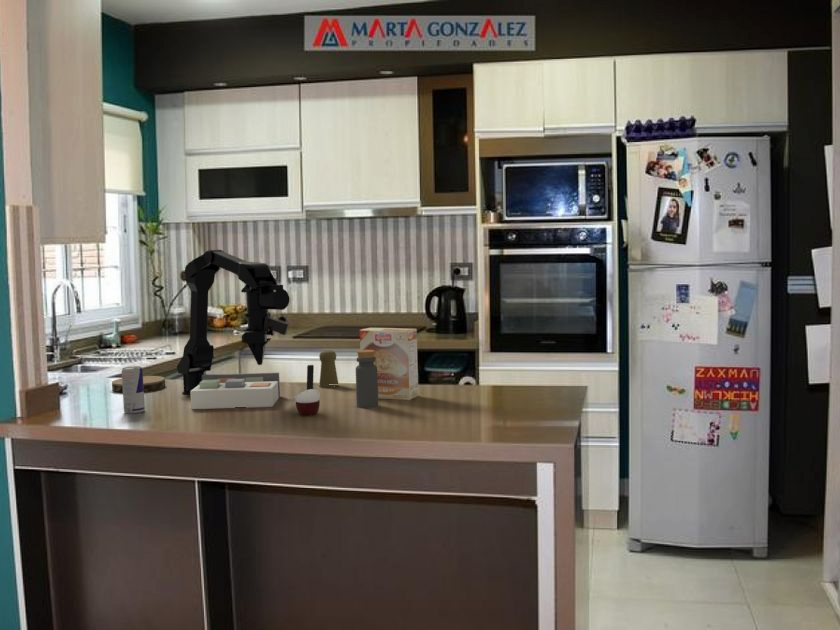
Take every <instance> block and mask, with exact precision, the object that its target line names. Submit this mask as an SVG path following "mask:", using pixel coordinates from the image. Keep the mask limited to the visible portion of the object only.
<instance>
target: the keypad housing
mask: <svg viewBox="0 0 840 630" xmlns="http://www.w3.org/2000/svg"><path fill="white" fill-rule="evenodd" d="M217 379H220V387H219V388H208V389H200V384H199V385H198V386H196V387H195V388H194V389H192V390H191V391H190V409H191V410H206V409H207V410H209V409H210V410H212V409H236V408H235V407H246V408H268V407H269V408H271V407H272V408H273V406H275V404H276V403H277V401H278V400H279V398H280V397H281V388H280V384H281V383H280V372H256V373H255V372H253V373H252V372H251V373H250V372H249V373H219V374H218V373H213V374H206V375H202V381H203V380H217ZM228 379H245V387H240V388H225V382H226V381H227V380H228ZM253 383H270V386H269V387H251V385H252V384H253Z"/></svg>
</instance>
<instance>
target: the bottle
mask: <svg viewBox="0 0 840 630" xmlns="http://www.w3.org/2000/svg"><path fill="white" fill-rule="evenodd" d="M356 352H357V356H358V357H356V362H357V363H358V365H357V366H356V367H355V391H356V392H355V393H356V398H355V399H356V407H357V408H361V409H368V408H369V409H370V408H372V409H373V408H376V407H378V406H379V399H378V375H377V366H375V365H374V361H376V357H374V352H375V351H374V350H360V349H359V350H357V351H356Z"/></svg>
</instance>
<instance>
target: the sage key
mask: <svg viewBox="0 0 840 630" xmlns="http://www.w3.org/2000/svg"><path fill="white" fill-rule="evenodd" d="M219 387H220V379H217V380H203V381H201V382H200V389H208V388H219Z"/></svg>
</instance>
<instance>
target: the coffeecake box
mask: <svg viewBox="0 0 840 630" xmlns="http://www.w3.org/2000/svg"><path fill="white" fill-rule="evenodd" d="M359 346H360V347H359V350H374V351H375V352H374V357H376V361H374V365H375V366H377V375H378V400H379V399H380V400H381V399H384V400H399V401H411V400H412V399H414V398H417V397H419V371H418V370H419V369H418V365H419V364H418V331H417V328H400V327H398V328H397V327H396V328H395V327H367V328H362V329H359Z"/></svg>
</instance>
